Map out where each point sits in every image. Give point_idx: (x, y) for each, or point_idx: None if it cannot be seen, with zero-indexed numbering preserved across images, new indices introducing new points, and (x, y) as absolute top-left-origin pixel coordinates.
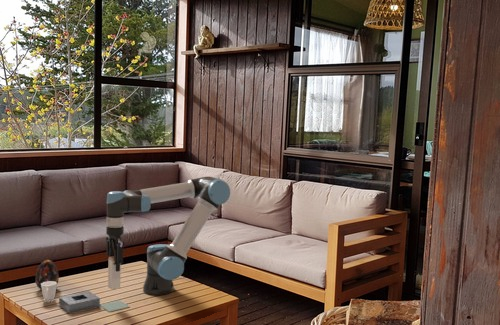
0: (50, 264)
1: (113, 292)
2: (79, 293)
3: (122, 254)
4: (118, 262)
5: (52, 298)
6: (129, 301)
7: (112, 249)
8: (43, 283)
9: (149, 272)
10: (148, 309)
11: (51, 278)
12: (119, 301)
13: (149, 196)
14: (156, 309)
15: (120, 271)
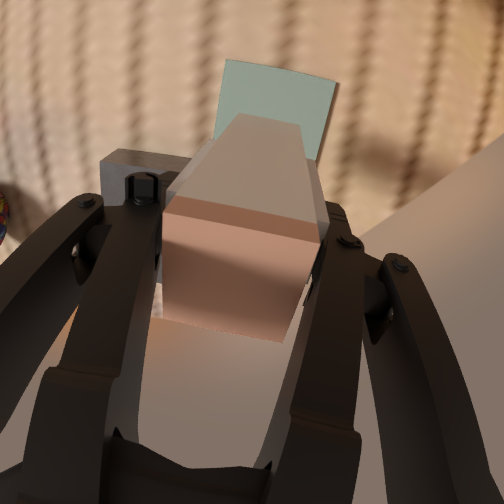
0: None
1: (111, 27)
2: (108, 205)
3: (449, 366)
4: (389, 317)
5: (73, 248)
6: (268, 30)
7: (135, 377)
8: None
9: None
10: (419, 53)
11: None
12: (242, 70)
13: None
14: (443, 37)
15: (306, 161)
